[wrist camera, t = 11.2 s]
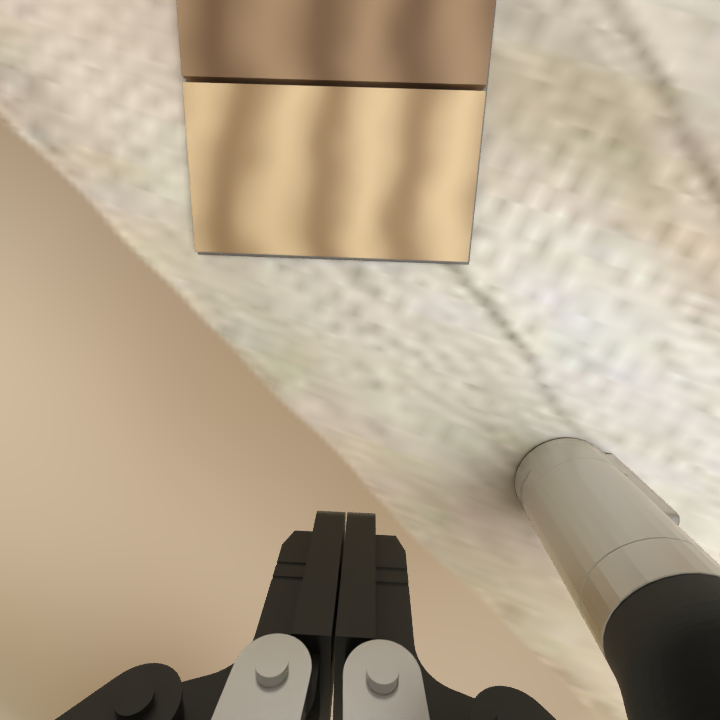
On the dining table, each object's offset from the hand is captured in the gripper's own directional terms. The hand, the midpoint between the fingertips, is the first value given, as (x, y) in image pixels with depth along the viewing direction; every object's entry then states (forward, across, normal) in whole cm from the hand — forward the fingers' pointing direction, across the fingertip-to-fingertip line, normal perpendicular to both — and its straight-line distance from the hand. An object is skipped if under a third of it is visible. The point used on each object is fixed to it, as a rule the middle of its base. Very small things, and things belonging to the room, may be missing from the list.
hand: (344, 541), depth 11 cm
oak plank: (+28, +3, -12) cm, 31 cm away
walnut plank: (+29, +3, -24) cm, 38 cm away
